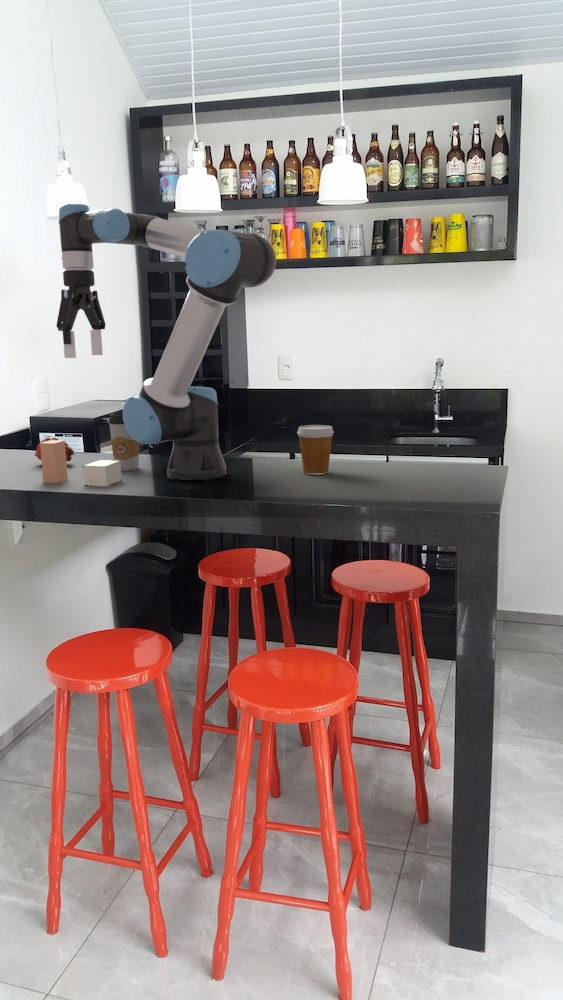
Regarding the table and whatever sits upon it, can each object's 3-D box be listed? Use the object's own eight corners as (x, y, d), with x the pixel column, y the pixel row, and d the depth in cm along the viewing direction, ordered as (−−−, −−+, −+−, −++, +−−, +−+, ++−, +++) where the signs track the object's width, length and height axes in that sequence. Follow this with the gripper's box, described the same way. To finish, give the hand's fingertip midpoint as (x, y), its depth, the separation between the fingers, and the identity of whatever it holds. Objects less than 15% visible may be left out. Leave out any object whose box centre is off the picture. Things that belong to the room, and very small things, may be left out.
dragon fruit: (37, 468, 238) (73, 477, 234) (23, 455, 230) (59, 463, 226) (49, 442, 240) (85, 450, 237) (35, 428, 233) (71, 436, 229)
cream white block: (121, 480, 210) (120, 460, 209) (106, 486, 203) (104, 466, 202) (100, 479, 212) (98, 459, 211) (84, 485, 204) (82, 465, 203)
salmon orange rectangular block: (67, 479, 213) (64, 440, 211) (57, 482, 208) (54, 443, 206) (53, 478, 214) (50, 440, 212) (43, 482, 209) (40, 443, 207)
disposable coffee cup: (298, 469, 220) (298, 424, 218) (334, 469, 219) (334, 424, 217) (296, 476, 211) (295, 429, 209) (333, 476, 210) (333, 429, 208)
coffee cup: (106, 471, 223) (103, 415, 220) (118, 465, 231) (114, 412, 228) (136, 471, 221) (133, 415, 218) (146, 466, 229) (143, 412, 226)
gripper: (89, 272, 219) (95, 354, 224) (37, 268, 196) (44, 359, 201) (115, 271, 217) (120, 353, 222) (65, 267, 194) (71, 359, 199)
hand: (84, 356), depth 211 cm, fingers open, 13 cm apart
